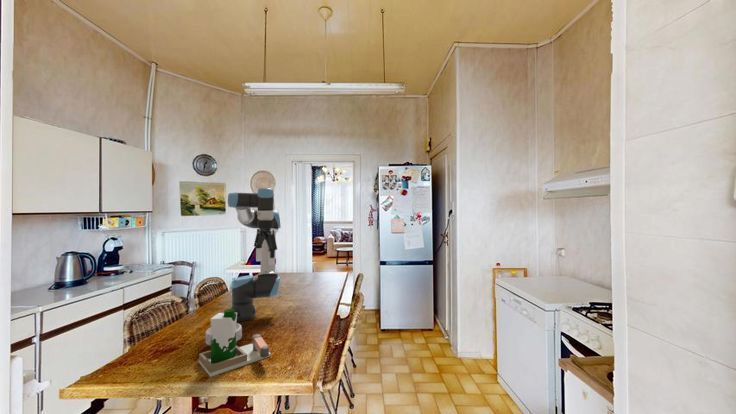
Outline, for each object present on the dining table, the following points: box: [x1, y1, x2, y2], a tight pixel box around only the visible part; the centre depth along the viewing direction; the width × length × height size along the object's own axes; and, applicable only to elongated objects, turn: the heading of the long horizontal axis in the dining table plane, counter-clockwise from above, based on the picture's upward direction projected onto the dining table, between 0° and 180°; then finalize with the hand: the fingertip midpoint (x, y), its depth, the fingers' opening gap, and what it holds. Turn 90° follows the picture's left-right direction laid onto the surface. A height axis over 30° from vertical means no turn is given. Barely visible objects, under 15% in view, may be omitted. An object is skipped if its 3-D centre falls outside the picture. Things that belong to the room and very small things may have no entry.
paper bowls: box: [205, 322, 243, 346], centre depth 141 cm, size 15×15×8 cm
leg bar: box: [251, 333, 270, 358], centre depth 128 cm, size 17×4×3 cm, turn 33°
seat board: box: [198, 343, 272, 378], centre depth 128 cm, size 15×24×4 cm, turn 134°
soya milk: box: [210, 308, 238, 364], centre depth 125 cm, size 9×9×20 cm
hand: (264, 262), depth 149 cm, fingers open, 13 cm apart
